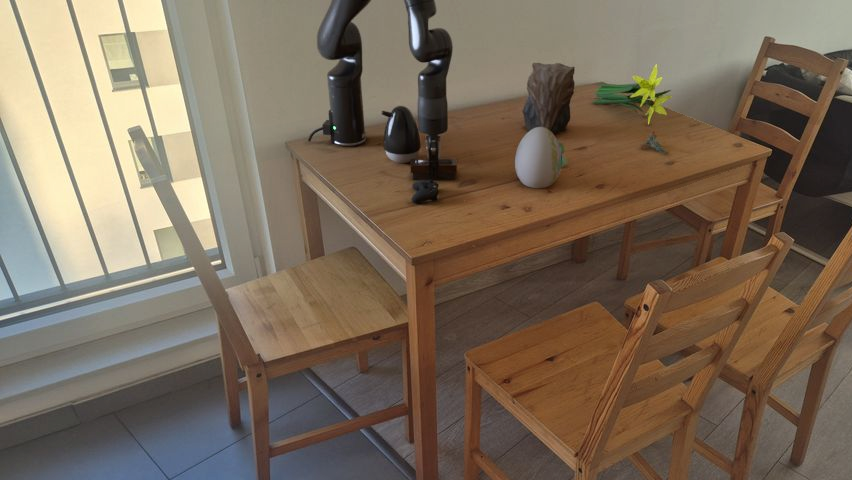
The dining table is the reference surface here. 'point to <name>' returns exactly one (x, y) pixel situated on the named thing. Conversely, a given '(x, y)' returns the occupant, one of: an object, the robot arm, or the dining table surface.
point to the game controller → (425, 191)
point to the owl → (549, 97)
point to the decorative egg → (538, 158)
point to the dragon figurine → (652, 142)
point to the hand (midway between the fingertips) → (433, 175)
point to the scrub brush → (422, 169)
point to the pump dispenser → (401, 135)
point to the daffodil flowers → (635, 94)
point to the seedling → (564, 160)
